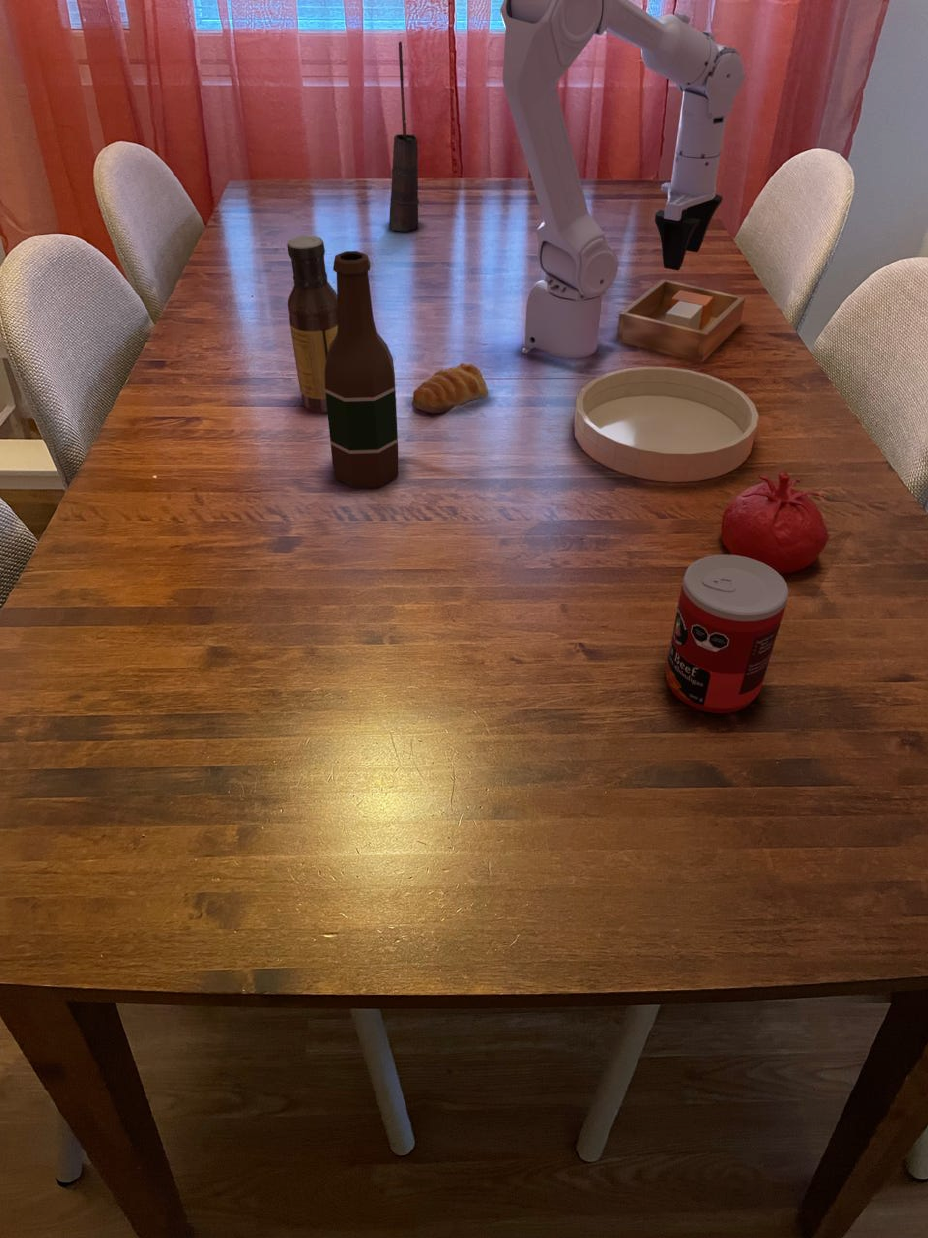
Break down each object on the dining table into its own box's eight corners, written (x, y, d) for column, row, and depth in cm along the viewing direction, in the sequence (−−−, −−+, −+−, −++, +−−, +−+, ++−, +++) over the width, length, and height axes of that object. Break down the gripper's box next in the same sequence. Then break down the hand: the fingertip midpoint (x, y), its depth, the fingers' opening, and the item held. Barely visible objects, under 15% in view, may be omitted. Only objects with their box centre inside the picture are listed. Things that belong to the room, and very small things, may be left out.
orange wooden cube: (701, 329, 133) (705, 305, 131) (667, 322, 135) (671, 298, 133) (709, 320, 135) (713, 296, 133) (676, 313, 137) (680, 289, 135)
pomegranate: (762, 599, 89) (784, 518, 83) (695, 543, 96) (712, 464, 90) (841, 570, 93) (867, 489, 86) (771, 517, 99) (791, 439, 93)
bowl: (542, 454, 109) (544, 419, 106) (619, 385, 122) (623, 352, 119) (710, 509, 100) (718, 473, 97) (774, 428, 113) (782, 394, 110)
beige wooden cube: (662, 337, 131) (666, 312, 129) (675, 324, 134) (679, 300, 132) (686, 342, 130) (690, 318, 128) (699, 329, 133) (703, 305, 131)
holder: (615, 341, 131) (619, 312, 129) (658, 305, 141) (662, 278, 138) (701, 363, 126) (706, 334, 124) (740, 325, 136) (745, 297, 133)
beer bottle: (412, 460, 108) (404, 246, 92) (385, 496, 102) (372, 275, 86) (349, 448, 110) (331, 237, 94) (320, 483, 104) (295, 264, 88)
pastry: (433, 423, 114) (432, 394, 112) (400, 402, 118) (398, 374, 116) (492, 400, 118) (493, 371, 116) (459, 381, 122) (458, 353, 120)
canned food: (654, 655, 83) (673, 555, 76) (743, 650, 84) (770, 550, 77) (676, 719, 77) (699, 617, 70) (771, 713, 78) (803, 612, 71)
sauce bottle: (344, 387, 121) (330, 227, 108) (357, 409, 117) (344, 246, 104) (294, 395, 119) (274, 234, 106) (306, 418, 115) (286, 253, 102)
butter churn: (432, 238, 162) (429, 50, 144) (377, 238, 162) (366, 50, 144) (434, 220, 169) (431, 39, 151) (381, 220, 169) (372, 38, 151)
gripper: (686, 134, 127) (671, 237, 136) (647, 161, 117) (634, 270, 126) (738, 141, 124) (719, 246, 133) (702, 170, 115) (685, 280, 124)
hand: (681, 259), depth 130 cm, fingers open, 7 cm apart
